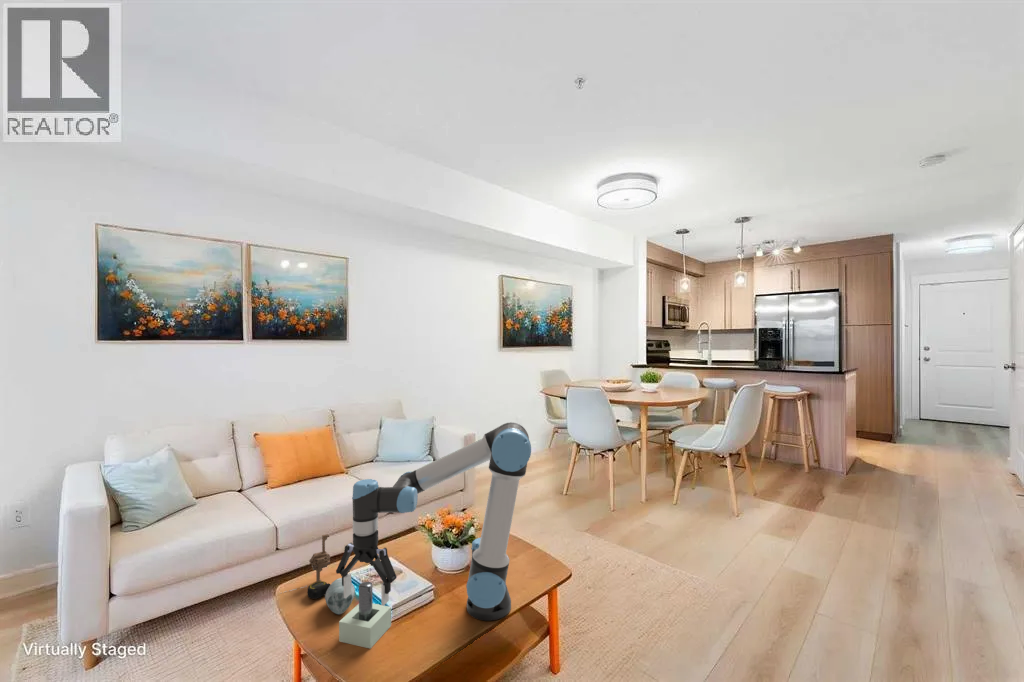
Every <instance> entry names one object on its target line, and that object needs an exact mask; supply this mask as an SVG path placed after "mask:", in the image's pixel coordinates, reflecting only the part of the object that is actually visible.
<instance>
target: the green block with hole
mask: <svg viewBox="0 0 1024 682" xmlns="http://www.w3.org/2000/svg"><path fill="white" fill-rule="evenodd" d="M391 627H392V606H389V605H384V606H382V604H379V603H374V602H372V618H371V619H370V620H369V621H368V622H367V621H363V620H359V603H358V604H356V605H355V607H354V608H352V609H351V610H350V611H349V612H348V613H347V614H345V616H343V618H341V619H340V620H339V621H338V640H339V641H338V642H341V643H344V644H350V645H353V646H358V647H362V648H366V649H370V650H371V649H372V648H373V647H374V646H375V644H376V643H377V642H378V641H379V640H380V639H381V637H382V636H384V634H385V633H386V632H387V631H388V630H389V629H390V628H391Z"/></svg>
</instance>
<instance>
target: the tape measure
mask: <svg viewBox="0 0 1024 682" xmlns="http://www.w3.org/2000/svg"><path fill="white" fill-rule="evenodd" d="M331 584H332V583H329V582H328V583H327V581H322V580H321V581H320V582H316V581H315V582H313V583H311V584H310V585H308V587H307V597H308V598H309V599H313V600H317V599H319V598H321V597H323V596H325V595H326V591H327V589H328V588H329V586H330V585H331Z"/></svg>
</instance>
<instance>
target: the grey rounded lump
mask: <svg viewBox="0 0 1024 682" xmlns="http://www.w3.org/2000/svg"><path fill="white" fill-rule="evenodd" d="M330 584H331V585H330V586H329V588H328V589H327V591H326V594H325V595H324V600H325V603H326V605H327V607H328V609H329V610H330V611H331V612H332V613H334V614H335V615H342V614H344V613H345V612H346V611H347V610H348V609H349V607H350V606H351V605H352V602H353V601H354V598H355V594H356V589H355V586H354V584H353V583H352V582H351V595H349V596H348V597H347V598H344V586H342V577H339V578H337V579H335V580H333V581H332V582H331V583H330Z"/></svg>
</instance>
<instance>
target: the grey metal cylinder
mask: <svg viewBox="0 0 1024 682" xmlns="http://www.w3.org/2000/svg"><path fill="white" fill-rule="evenodd" d="M372 603H373V582H371V581H364V582H361V583H359V585H358V604H359V620H363V621H367V622H368V621H369V620H370V619H371V618H372Z"/></svg>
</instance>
